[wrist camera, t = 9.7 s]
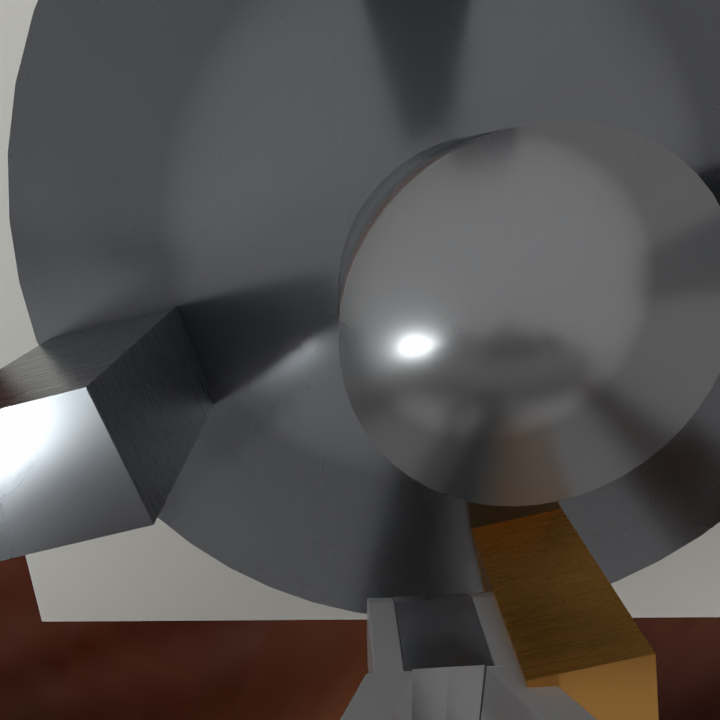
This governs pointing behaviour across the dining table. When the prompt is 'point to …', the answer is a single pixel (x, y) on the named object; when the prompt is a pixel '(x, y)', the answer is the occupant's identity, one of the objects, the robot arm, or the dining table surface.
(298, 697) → the dining table surface
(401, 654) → the robot arm
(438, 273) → the lathe chuck
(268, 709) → the dining table surface
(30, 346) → the base plate
